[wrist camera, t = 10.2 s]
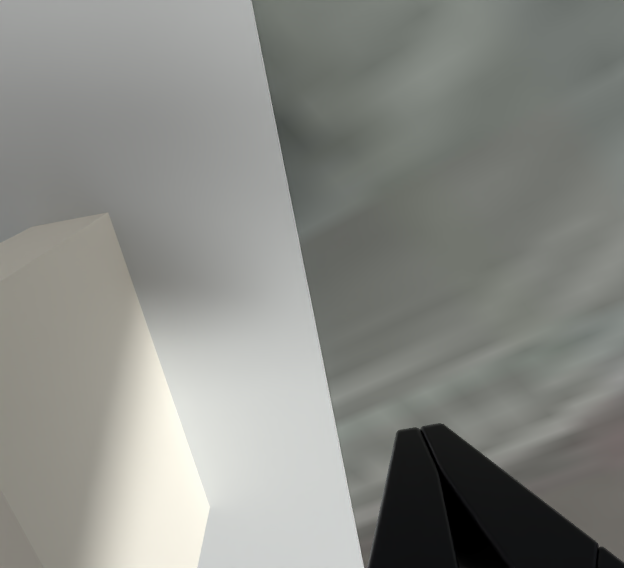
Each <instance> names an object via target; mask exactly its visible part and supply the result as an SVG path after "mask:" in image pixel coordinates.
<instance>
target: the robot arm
mask: <svg viewBox="0 0 624 568" xmlns="http://www.w3.org/2000/svg"><path fill="white" fill-rule="evenodd" d="M367 568H624V563H623V562H622V561H621V560H620V559H618V558H617V557H616V556H614V555H613V554H612V553H610V552H609V551H608V550H607V549H605V548H604V547H599V545H598V543H597V542H596V541H595V540H593V539H592V538H591V537H589V536H588V535H587V534H585V533H584V532H583V531H582V530H580V529H579V528H578V527H576V526H575V525H574V524H572V523H571V522H570V521H569V520H567V519H566V518H565V517H563V516H562V515H561V514H559V513H558V512H557V511H556V510H554V509H553V508H552V507H550V506H549V505H548V504H546V503H545V502H544V501H543V500H541V499H540V498H539V497H537V496H536V495H535V494H534V493H532V492H531V491H530V490H528V489H527V488H526V487H524V486H523V485H522V484H521V483H519V482H518V481H517V480H515V479H514V478H513V477H511V476H510V475H509V474H508V473H506V472H505V471H504V470H502V469H501V468H500V467H498V466H497V465H496V464H495V463H493V462H492V461H491V460H489V459H488V458H487V457H485V456H484V455H483V454H482V453H480V452H479V451H478V450H476V449H475V448H474V447H472V446H471V445H470V444H469V443H467V442H466V441H465V440H463V439H462V438H461V437H459V436H458V435H457V434H456V433H454V432H453V431H452V430H450V429H449V428H448V427H447V426H445V425H444V424H441V423H439V424H433V425H427V426H422V427H421V429H419V428H416V427H415V428H409V429H403V430H399V431H397V433H396V437H395V441H394V446H393V451H392V455H391V460H390V465H389V469H388V474H387V478H386V483H385V488H384V492H383V497H382V502H381V506H380V511H379V516H378V520H377V525H376V529H375V534H374V539H373V543H372V548H371V553H370V557H369V562H368V567H367Z"/></svg>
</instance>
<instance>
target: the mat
mask: <svg viewBox="0 0 624 568" xmlns="http://www.w3.org/2000/svg"><path fill="white" fill-rule="evenodd" d="M107 212H108V213H109V216H110V219H111V222H112V225H113V228H114V231H115V233H116V236H117V239H118V242H119V245H120V248H121V251H122V254H123V257H124V260H125V263H126V265H127V268H128V271H129V274H130V277H131V280H132V283H133V286H134V289H135V292H136V294H137V297H138V300H139V303H140V306H141V309H142V312H143V315H144V318H145V321H146V324H147V326H148V329H149V332H150V335H151V338H152V341H153V344H154V347H155V350H156V353H157V355H158V358H159V361H160V364H161V367H162V370H163V373H164V376H165V379H166V382H167V385H168V387H169V390H170V393H171V396H172V399H173V402H174V405H175V408H176V411H177V414H178V416H179V419H180V422H181V425H182V428H183V431H184V434H185V437H186V440H187V443H188V445H189V448H190V451H191V454H192V457H193V460H194V463H195V466H196V469H197V472H198V475H199V477H200V480H201V483H202V486H203V489H204V492H205V495H206V498H207V501H208V504H209V506H210V509H209V514H208V519H207V523H206V528H205V533H204V538H203V543H202V548H201V553H200V558H199V562H198V567H197V568H364V565H363V560H362V555H361V550H360V545H359V540H358V535H357V530H356V525H355V520H354V515H353V510H352V505H351V500H350V495H349V490H348V485H347V479H346V474H345V469H344V464H343V459H342V454H341V449H340V444H339V439H338V434H337V429H336V424H335V419H334V414H333V409H332V404H331V399H330V394H329V389H328V384H327V379H326V374H325V369H324V364H323V359H322V354H321V348H320V343H319V338H318V333H317V328H316V323H315V318H314V313H313V308H312V303H311V298H310V293H309V288H308V283H307V278H306V273H305V268H304V263H303V258H302V253H301V248H300V243H299V238H298V233H297V228H296V222H295V217H294V212H293V207H292V202H291V197H290V192H289V187H288V182H287V177H286V172H285V167H284V162H283V157H282V152H281V147H280V142H279V137H278V132H277V127H276V122H275V117H274V112H273V107H272V102H271V96H270V91H269V86H268V81H267V76H266V71H265V66H264V61H263V56H262V51H261V46H260V41H259V36H258V31H257V26H256V21H255V16H254V11H253V6H252V1H251V0H0V243H1V242H3V241H5V240H7V239H9V238H11V237H13V236H15V235H17V234H19V233H20V232H22V231H24V230H26V229H28V228H30V227H33V226H38V225H44V224H49V223H54V222H59V221H65V220H70V219H75V218H80V217H86V216H91V215H96V214H102V213H107Z"/></svg>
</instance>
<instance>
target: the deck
mask: <svg viewBox="0 0 624 568" xmlns="http://www.w3.org/2000/svg"><path fill="white" fill-rule="evenodd" d="M209 509H210V506H209V504H208V501H207V498H206V495H205V492H204V489H203V486H202V483H201V480H200V477H199V475H198V472H197V469H196V466H195V463H194V460H193V457H192V454H191V451H190V448H189V445H188V443H187V440H186V437H185V434H184V431H183V428H182V425H181V422H180V419H179V416H178V414H177V411H176V408H175V405H174V402H173V399H172V396H171V393H170V390H169V387H168V385H167V382H166V379H165V376H164V373H163V370H162V367H161V364H160V361H159V358H158V355H157V353H156V350H155V347H154V344H153V341H152V338H151V335H150V332H149V329H148V326H147V324H146V321H145V318H144V315H143V312H142V309H141V306H140V303H139V300H138V297H137V294H136V292H135V289H134V286H133V283H132V280H131V277H130V274H129V271H128V268H127V265H126V263H125V260H124V257H123V254H122V251H121V248H120V245H119V242H118V239H117V236H116V233H115V231H114V228H113V225H112V222H111V219H110V216H109V213H108V212H107V213H102V214H96V215H91V216H86V217H80V218H75V219H70V220H65V221H59V222H54V223H49V224H44V225H38V226H33V227H30V228H28V229H26V230H24V231H22V232H20V233H19V234H17V235H15V236H13V237H11V238H9V239H7V240H5V241H3V242H1V243H0V568H197V567H198V562H199V558H200V553H201V548H202V543H203V538H204V533H205V528H206V523H207V519H208V514H209Z"/></svg>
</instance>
